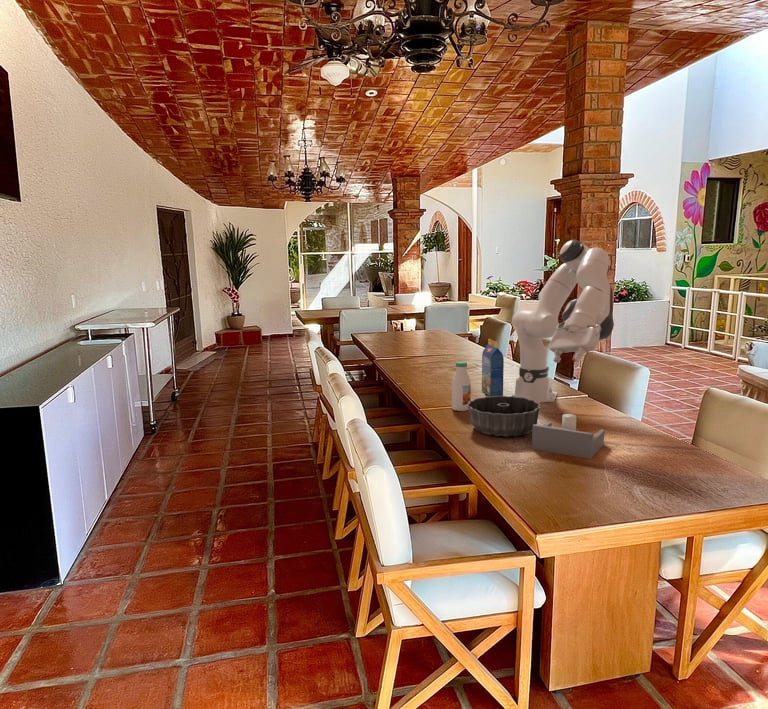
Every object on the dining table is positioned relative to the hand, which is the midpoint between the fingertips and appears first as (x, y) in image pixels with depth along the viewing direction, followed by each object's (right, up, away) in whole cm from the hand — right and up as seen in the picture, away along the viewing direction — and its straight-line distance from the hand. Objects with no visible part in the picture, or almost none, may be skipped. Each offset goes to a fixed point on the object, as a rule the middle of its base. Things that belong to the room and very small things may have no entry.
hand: (565, 361), depth 194 cm
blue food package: (-13, -16, +65) cm, 68 cm away
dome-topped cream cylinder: (-1, -26, -6) cm, 27 cm away
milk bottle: (-30, -21, +41) cm, 55 cm away
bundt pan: (-19, -26, +13) cm, 34 cm away
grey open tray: (-1, -28, -5) cm, 29 cm away
